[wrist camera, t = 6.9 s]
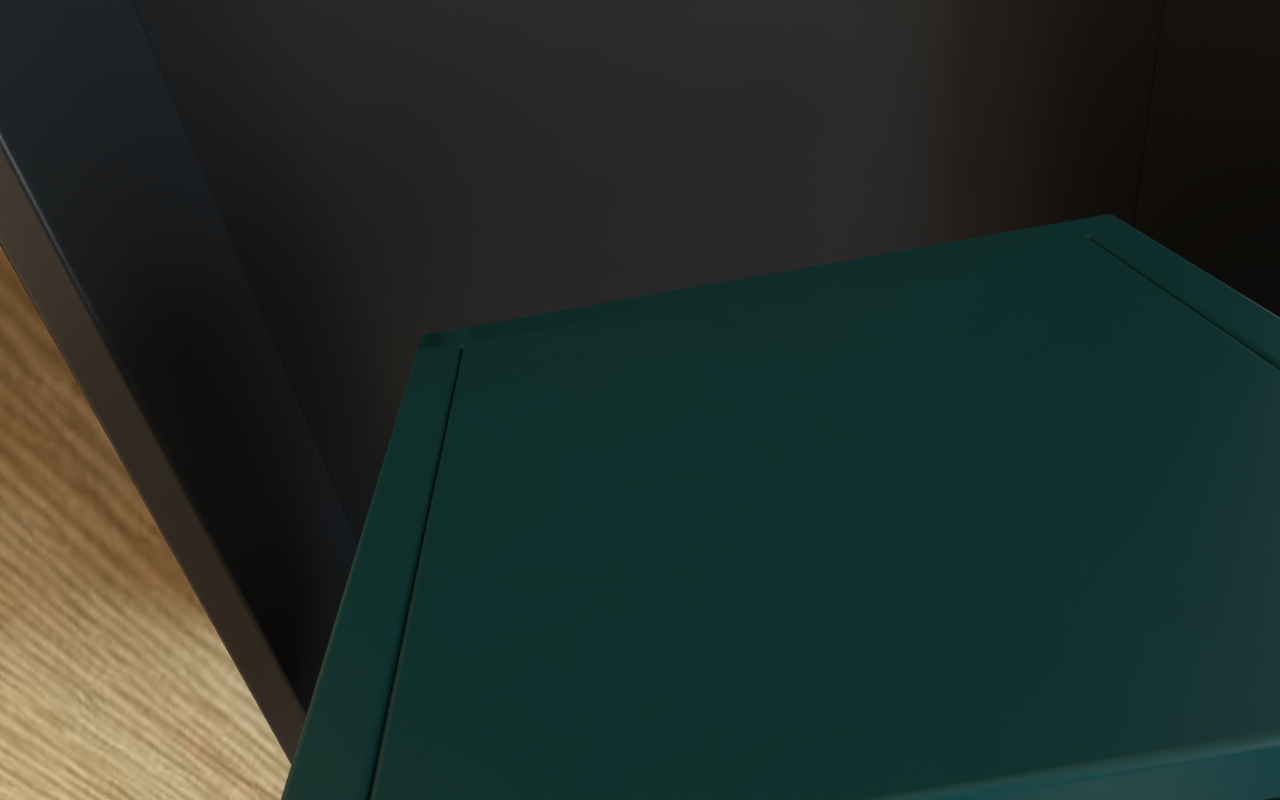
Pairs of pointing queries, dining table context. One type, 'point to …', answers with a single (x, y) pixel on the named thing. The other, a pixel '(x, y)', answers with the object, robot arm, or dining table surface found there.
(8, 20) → the tray
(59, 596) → the dining table surface
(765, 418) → the teal bin
